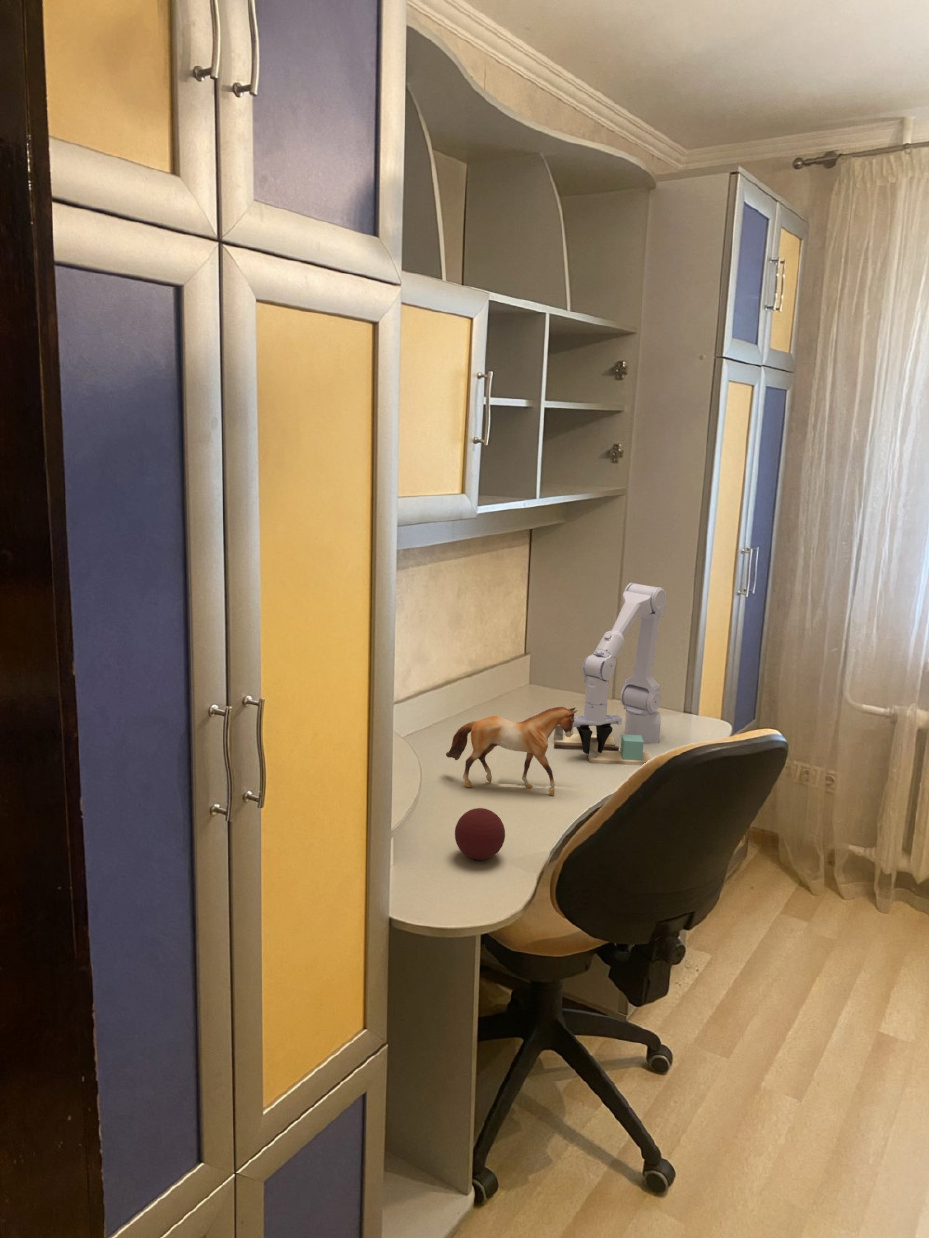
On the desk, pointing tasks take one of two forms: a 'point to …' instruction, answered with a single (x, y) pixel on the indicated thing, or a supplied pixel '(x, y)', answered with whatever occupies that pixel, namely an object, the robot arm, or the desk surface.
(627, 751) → the teal cube
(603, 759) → the strip
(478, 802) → the desk surface
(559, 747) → the lane board
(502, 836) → the decorative ball
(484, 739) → the horse figurine
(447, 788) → the desk surface
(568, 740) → the empty strip
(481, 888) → the desk surface
